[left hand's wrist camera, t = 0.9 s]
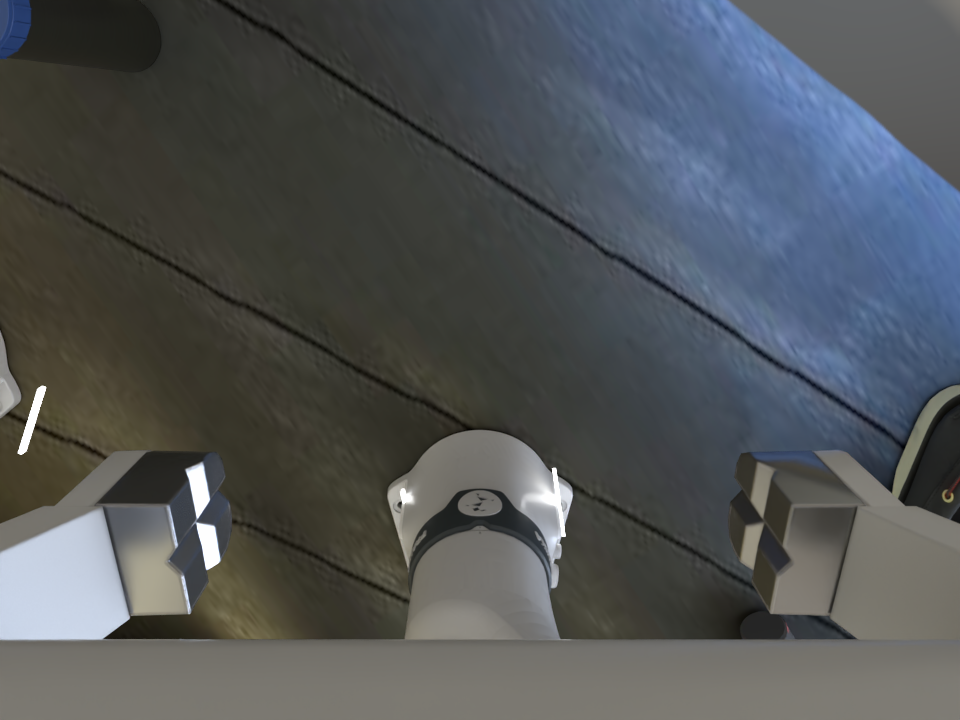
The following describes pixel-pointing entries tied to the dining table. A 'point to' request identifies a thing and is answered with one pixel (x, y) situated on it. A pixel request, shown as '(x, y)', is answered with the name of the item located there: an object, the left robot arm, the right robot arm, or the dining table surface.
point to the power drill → (765, 627)
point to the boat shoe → (933, 458)
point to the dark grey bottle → (92, 34)
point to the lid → (13, 25)
